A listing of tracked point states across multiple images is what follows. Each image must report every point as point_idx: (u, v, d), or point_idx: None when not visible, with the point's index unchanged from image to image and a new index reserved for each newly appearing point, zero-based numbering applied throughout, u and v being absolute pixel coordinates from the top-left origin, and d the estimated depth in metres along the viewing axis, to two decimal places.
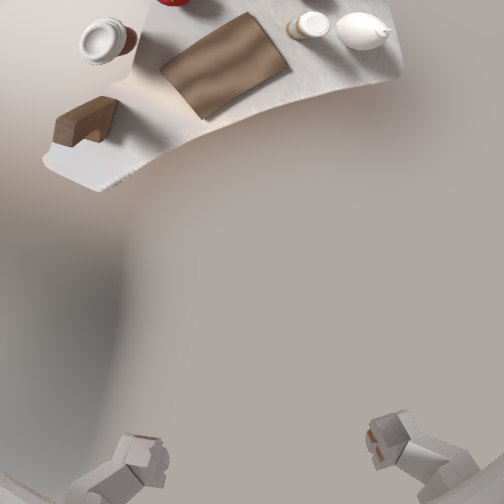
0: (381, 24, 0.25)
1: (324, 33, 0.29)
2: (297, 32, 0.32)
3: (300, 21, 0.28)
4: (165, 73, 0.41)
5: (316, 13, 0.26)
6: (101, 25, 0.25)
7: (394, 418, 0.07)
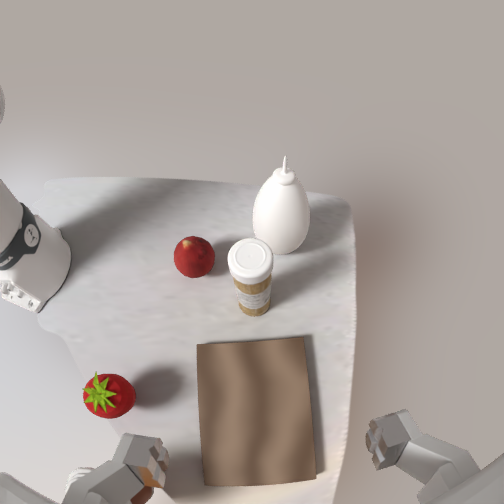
0: (275, 172, 0.30)
1: (269, 251, 0.27)
2: (255, 295, 0.30)
3: (237, 276, 0.26)
4: (215, 483, 0.24)
5: (233, 248, 0.27)
6: None
7: (394, 418, 0.07)
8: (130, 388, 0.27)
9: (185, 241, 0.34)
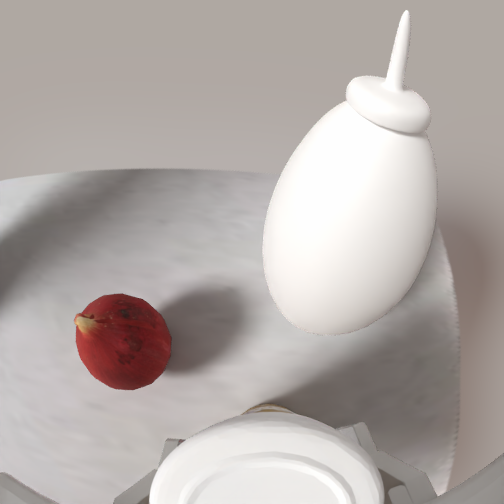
0: (359, 83, 0.06)
1: (373, 491, 0.03)
2: None
3: None
4: None
5: (170, 478, 0.03)
6: None
7: (349, 431, 0.07)
8: None
9: (79, 320, 0.11)
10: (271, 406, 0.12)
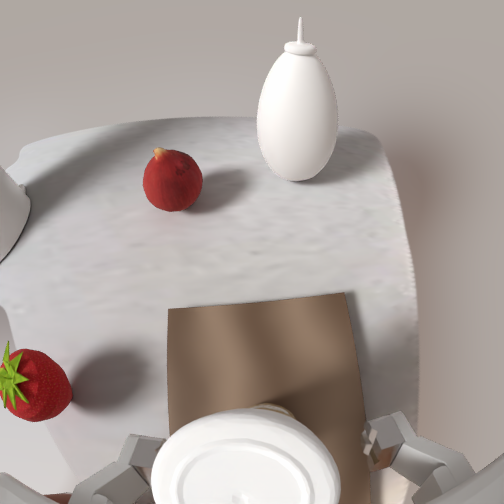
0: (288, 43, 0.17)
1: (328, 479, 0.04)
2: None
3: None
4: None
5: (167, 458, 0.05)
6: None
7: (389, 420, 0.07)
8: (55, 375, 0.14)
9: (158, 148, 0.21)
10: (266, 405, 0.13)
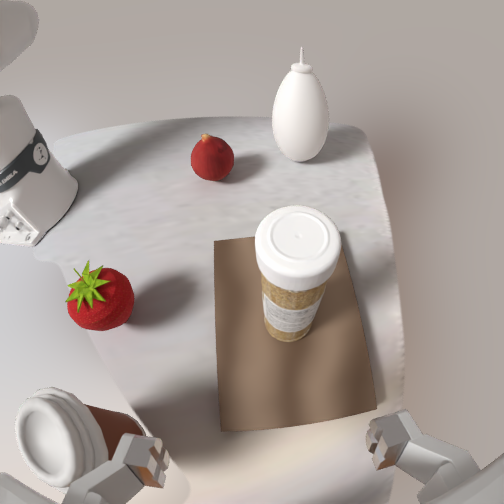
0: (293, 64, 0.27)
1: (333, 227, 0.14)
2: (301, 310, 0.17)
3: (276, 275, 0.13)
4: (237, 426, 0.20)
5: (265, 222, 0.14)
6: (26, 407, 0.11)
7: (394, 418, 0.07)
8: (128, 283, 0.24)
9: (205, 134, 0.31)
10: None
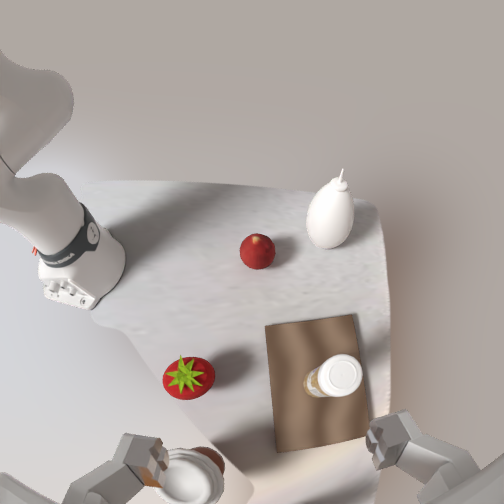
0: (333, 181, 0.37)
1: (359, 368, 0.24)
2: None
3: (330, 394, 0.24)
4: (287, 449, 0.30)
5: (326, 368, 0.24)
6: None
7: (394, 418, 0.07)
8: (212, 367, 0.34)
9: (255, 237, 0.41)
10: None
